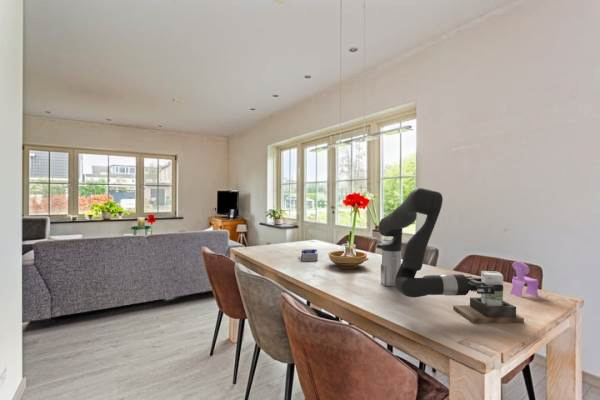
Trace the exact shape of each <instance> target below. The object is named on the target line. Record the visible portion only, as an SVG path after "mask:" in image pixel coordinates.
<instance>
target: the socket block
mask: <svg viewBox="0 0 600 400" xmlns="http://www.w3.org/2000/svg"><path fill="white" fill-rule="evenodd" d="M452 307H453V308H452V309H453V311H455V312H456V313H458V314H460V315H461V316H462V317H463V318H465V319H466V320H468V321H470V322H471V323H472V324H511V323H512V324H517V323H520V324H523V323H525V318H524V317H522V316H520V315H519V314H517V306H515V305H513V304H511V303H509V302H507V301H505V300H503V306H487V305H486V304H484V303H482V302H481V296H480V297H469V305H465V304H464V305H463V304H461V305H458V304H457V305H453V306H452Z"/></svg>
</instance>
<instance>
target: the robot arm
mask: <svg viewBox="0 0 600 400" xmlns="http://www.w3.org/2000/svg"><path fill="white" fill-rule="evenodd" d="M442 206H443V195H442V193H441V192H440V191H436V190H431V189H427V188H423V187H415V188H414V189H412V190H411V192H410V193H409V194H408V195H407V196H406V198H405V200H403V202H402V203H401V204H399V205H398V206H397V207H396V208H395V209H394V210H393V211H392V212H390V213H389V214H388V215H387V216H385V217H382V218H381V219H380V221H379V223H378V227H377V228H378V233H379V234H380V235H381V236H383V237H391V240H388V241H387V242H384V243H382V244H381V253H382V254H381V263H380V283H381V285H383V286H384V287H395V288H396V290H398V291H399V292H400V293H401V294H402V295H404V296H405V297H407V298H422V297H426V296H429V295H430V296H446V297H447V296H448V297H449V296H452V297H453V296H467V295H468V293H469V292H470V291H471V292H473V293H474V292H476V294H478V295H481V294H495V291H503V292H504V284H503V285H492V284H486V283H485V282H481V278H480V277H478V278H477V277H473V276H472V275H469V276H466V275H464V274H461V273H457V274H456V273H455V274H452V273H451V274H450V273H448V274H445V273H444V274H439V275H438V274H437V275H436V274H432V275H431V274H429V275H424V276H422V277H416V274H417V273H418V272H419V271H421V269H422V267H423V264H424V259H425V255H426V251H427V248H428V244H429V241H430V238H431V237H432V234H433V231H434V229H435V226H436V223H437V220H438V218H439V216H440V214H441V213H440V212H441V210H442ZM418 214H422V215H426V218H425V221H424V222H423V224H422V225H421V227H420V228H419V229H418V230H417V231H416V232H415V234H413V235H412V236H411V237H410V239H409V240H408V241H407V242H406V245H405V248H404V251H403V252H404V253H403V256H402V245H403V229H405V228H408V227H409V226H411V225H413V224H414V223H415V222H416V219H417V216H418ZM481 284H482V285H483V286H481ZM488 289H489V290H488Z"/></svg>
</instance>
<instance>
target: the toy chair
mask: <svg viewBox="0 0 600 400" xmlns="http://www.w3.org/2000/svg"><path fill="white" fill-rule="evenodd" d="M512 268H513V269H514V271H515V272H516V276H512V280H511V282H512V283H511V284H512V287H511V290H510V292H509V294H511V295H514V296H515V297H519V298H523V288H524V286H526V285H527V287H526V290H525V291H524V293H525V294H528V295H532V296H535V297H539V293H538V287H539V280H538V279H536V278H532V277H529V276H526V275H528V274H529V273H530V270H531V269H530V267H529V266H528V265H527V264H526V263H525V262H521V261H517V260H516V261H514V262H513V263H512ZM525 284H526V285H525Z"/></svg>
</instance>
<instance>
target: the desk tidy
mask: <svg viewBox="0 0 600 400" xmlns="http://www.w3.org/2000/svg"><path fill="white" fill-rule="evenodd" d="M313 249H314V248H311V249H309V248H307V249H306V248H305V249H304V248H303V249H301V261H302V262H318V261H319V260H318V259H319V257H318V251H317V252H316V251H315V254H310V253H312V250H313ZM302 251H306V253H307V254H304V253H302Z"/></svg>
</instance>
